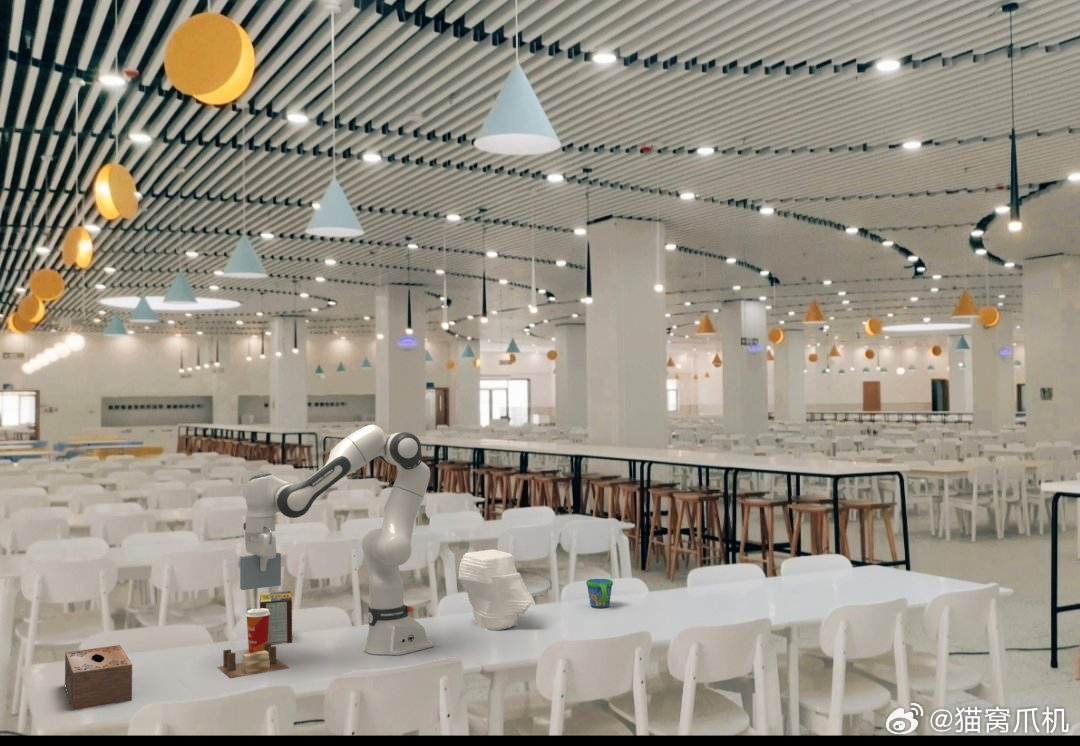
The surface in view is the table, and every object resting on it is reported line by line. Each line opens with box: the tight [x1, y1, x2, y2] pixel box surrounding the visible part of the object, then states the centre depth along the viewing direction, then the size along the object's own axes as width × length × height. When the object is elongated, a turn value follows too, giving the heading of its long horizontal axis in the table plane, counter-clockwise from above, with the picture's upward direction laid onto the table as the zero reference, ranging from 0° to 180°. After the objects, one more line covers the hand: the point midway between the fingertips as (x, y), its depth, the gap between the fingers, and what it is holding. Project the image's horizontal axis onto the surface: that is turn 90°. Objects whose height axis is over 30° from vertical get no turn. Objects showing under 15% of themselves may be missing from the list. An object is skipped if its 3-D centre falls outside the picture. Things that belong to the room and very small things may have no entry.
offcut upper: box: [241, 651, 269, 665], centre depth 272 cm, size 7×3×2 cm, turn 129°
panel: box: [239, 552, 282, 591], centre depth 283 cm, size 12×2×10 cm, turn 124°
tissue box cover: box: [64, 644, 133, 711], centre depth 254 cm, size 26×14×10 cm, turn 32°
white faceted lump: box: [457, 548, 533, 631], centre depth 328 cm, size 21×27×26 cm
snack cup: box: [585, 578, 614, 609], centre depth 358 cm, size 16×10×10 cm
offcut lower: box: [244, 661, 270, 673], centre depth 272 cm, size 7×3×2 cm, turn 124°
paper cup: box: [245, 607, 270, 653], centre depth 294 cm, size 8×8×14 cm
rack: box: [216, 643, 291, 679], centre depth 275 cm, size 18×15×6 cm
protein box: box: [259, 590, 293, 646], centre depth 311 cm, size 10×15×16 cm
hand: (260, 570), depth 283 cm, fingers closed on panel, 2 cm apart
